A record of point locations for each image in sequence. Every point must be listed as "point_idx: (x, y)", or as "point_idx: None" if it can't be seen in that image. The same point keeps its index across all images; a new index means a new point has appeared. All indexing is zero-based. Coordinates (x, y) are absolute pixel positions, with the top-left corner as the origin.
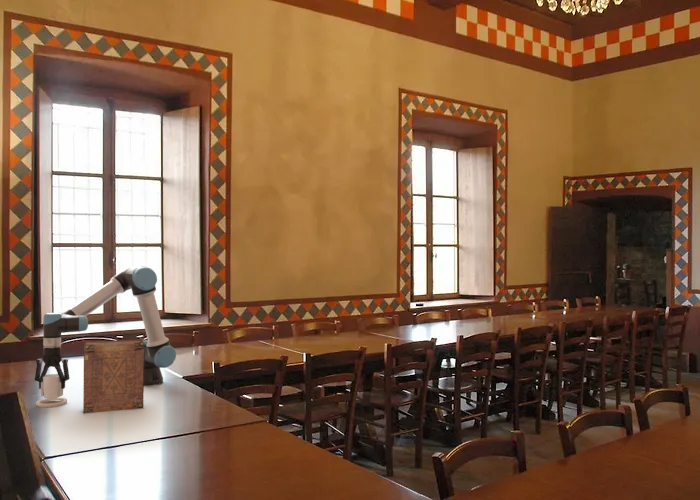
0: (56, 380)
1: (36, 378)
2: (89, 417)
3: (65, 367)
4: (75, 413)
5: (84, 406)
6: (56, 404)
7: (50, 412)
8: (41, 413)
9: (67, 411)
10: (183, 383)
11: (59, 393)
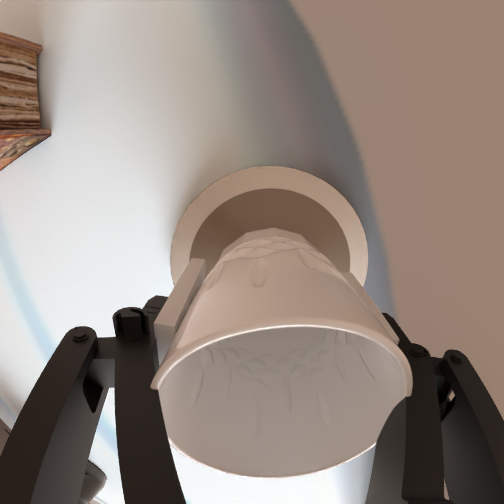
0: (188, 318)
1: (458, 366)
2: (29, 3)
3: (2, 461)
4: (72, 35)
5: (20, 41)
6: (211, 185)
7: (206, 36)
8: (256, 18)
9: (113, 62)
10: (8, 424)
11: (197, 268)
